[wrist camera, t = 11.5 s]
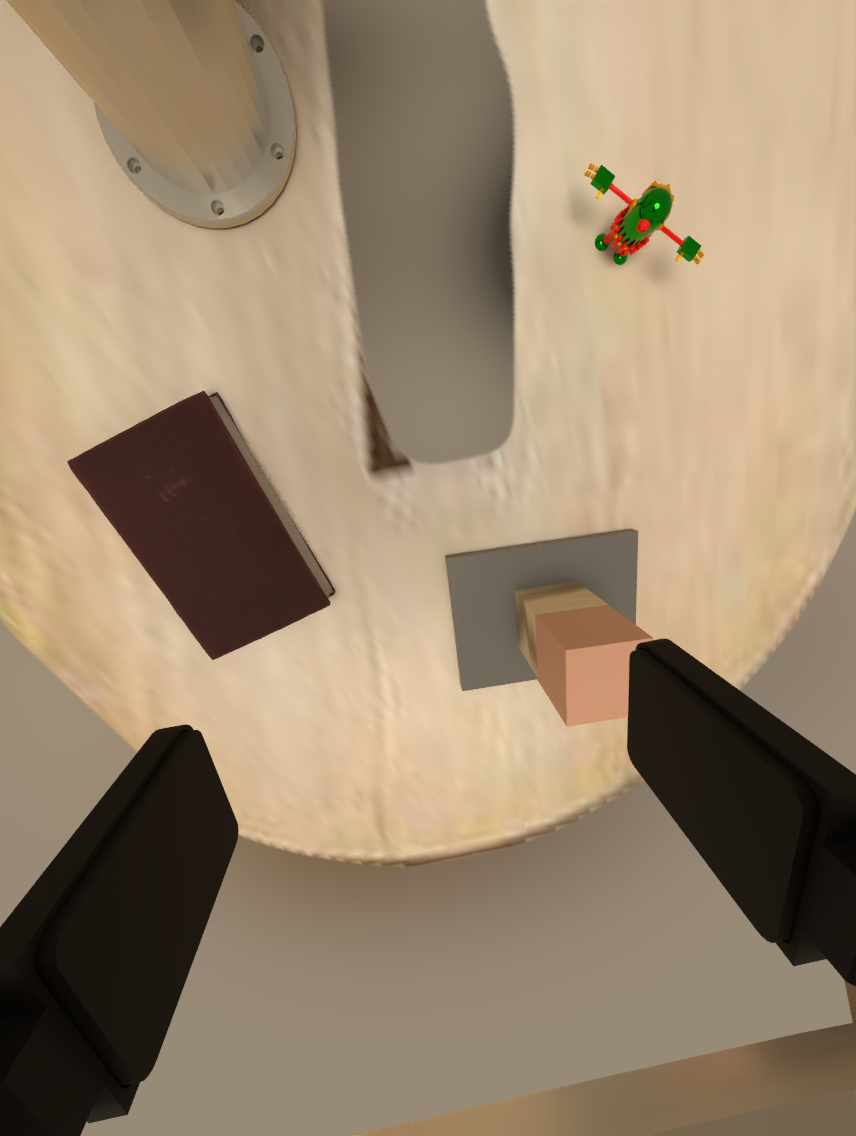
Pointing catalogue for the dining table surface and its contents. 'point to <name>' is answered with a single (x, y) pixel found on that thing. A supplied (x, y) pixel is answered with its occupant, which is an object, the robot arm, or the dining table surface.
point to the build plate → (496, 573)
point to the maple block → (546, 610)
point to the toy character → (639, 219)
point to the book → (205, 524)
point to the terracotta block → (586, 662)
